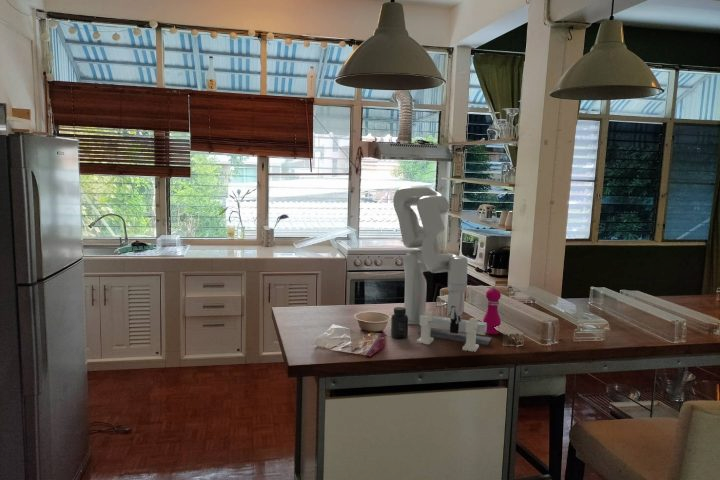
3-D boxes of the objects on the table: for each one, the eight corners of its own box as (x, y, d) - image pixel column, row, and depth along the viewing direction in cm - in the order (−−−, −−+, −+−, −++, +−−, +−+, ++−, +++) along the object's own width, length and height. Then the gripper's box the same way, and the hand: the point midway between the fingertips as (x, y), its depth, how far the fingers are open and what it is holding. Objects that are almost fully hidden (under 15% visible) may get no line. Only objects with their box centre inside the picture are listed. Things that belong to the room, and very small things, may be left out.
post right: (461, 350, 206) (463, 321, 204) (466, 344, 212) (467, 317, 210) (475, 352, 204) (476, 323, 202) (479, 346, 210) (480, 319, 208)
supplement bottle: (409, 335, 222) (410, 307, 220) (405, 340, 215) (406, 311, 214) (393, 333, 224) (394, 305, 222) (388, 338, 217) (389, 309, 216)
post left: (416, 342, 213) (417, 315, 212) (422, 338, 219) (422, 311, 218) (428, 344, 211) (429, 317, 209) (433, 339, 217) (435, 313, 216)
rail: (425, 327, 224) (426, 317, 223) (428, 324, 227) (429, 315, 227) (484, 335, 214) (484, 325, 213) (486, 332, 218) (486, 322, 217)
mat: (418, 334, 223) (418, 333, 223) (424, 329, 231) (424, 328, 231) (487, 345, 212) (487, 343, 212) (491, 339, 219) (491, 337, 219)
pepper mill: (500, 335, 225) (503, 287, 222) (482, 333, 226) (485, 286, 224) (499, 330, 232) (502, 284, 229) (482, 328, 233) (484, 283, 231)
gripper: (453, 282, 228) (451, 325, 230) (442, 290, 212) (440, 335, 215) (471, 284, 225) (469, 327, 227) (461, 292, 209) (459, 338, 212)
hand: (455, 330), depth 221 cm, fingers closed on rail, 4 cm apart
